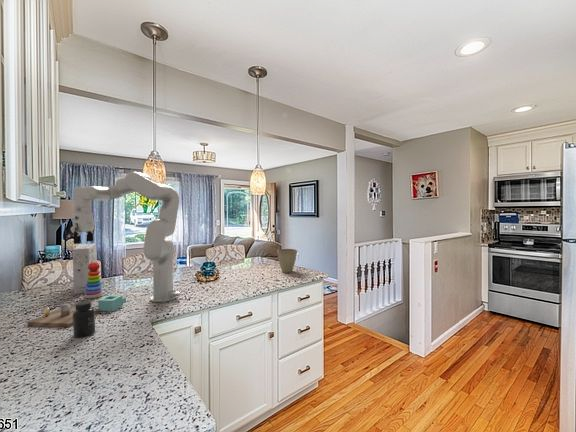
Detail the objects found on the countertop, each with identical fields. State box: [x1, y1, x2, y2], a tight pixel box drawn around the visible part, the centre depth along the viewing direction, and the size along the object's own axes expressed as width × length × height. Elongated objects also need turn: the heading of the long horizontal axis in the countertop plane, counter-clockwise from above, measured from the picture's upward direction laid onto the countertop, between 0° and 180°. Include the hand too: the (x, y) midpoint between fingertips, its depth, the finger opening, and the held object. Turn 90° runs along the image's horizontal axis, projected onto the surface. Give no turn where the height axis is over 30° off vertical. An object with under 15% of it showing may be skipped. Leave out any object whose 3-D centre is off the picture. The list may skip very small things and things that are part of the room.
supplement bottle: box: [72, 300, 96, 338], centre depth 106 cm, size 7×7×12 cm
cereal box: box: [72, 243, 98, 294], centre depth 165 cm, size 22×8×25 cm, turn 25°
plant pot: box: [276, 248, 298, 273], centre depth 207 cm, size 15×15×16 cm
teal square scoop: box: [97, 294, 127, 312], centre depth 136 cm, size 13×7×5 cm, turn 175°
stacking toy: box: [84, 262, 103, 300], centre depth 149 cm, size 8×8×19 cm
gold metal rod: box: [44, 306, 50, 317], centre depth 119 cm, size 1×1×4 cm
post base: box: [27, 303, 100, 328], centre depth 121 cm, size 18×16×6 cm
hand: (83, 242), depth 147 cm, fingers open, 9 cm apart
